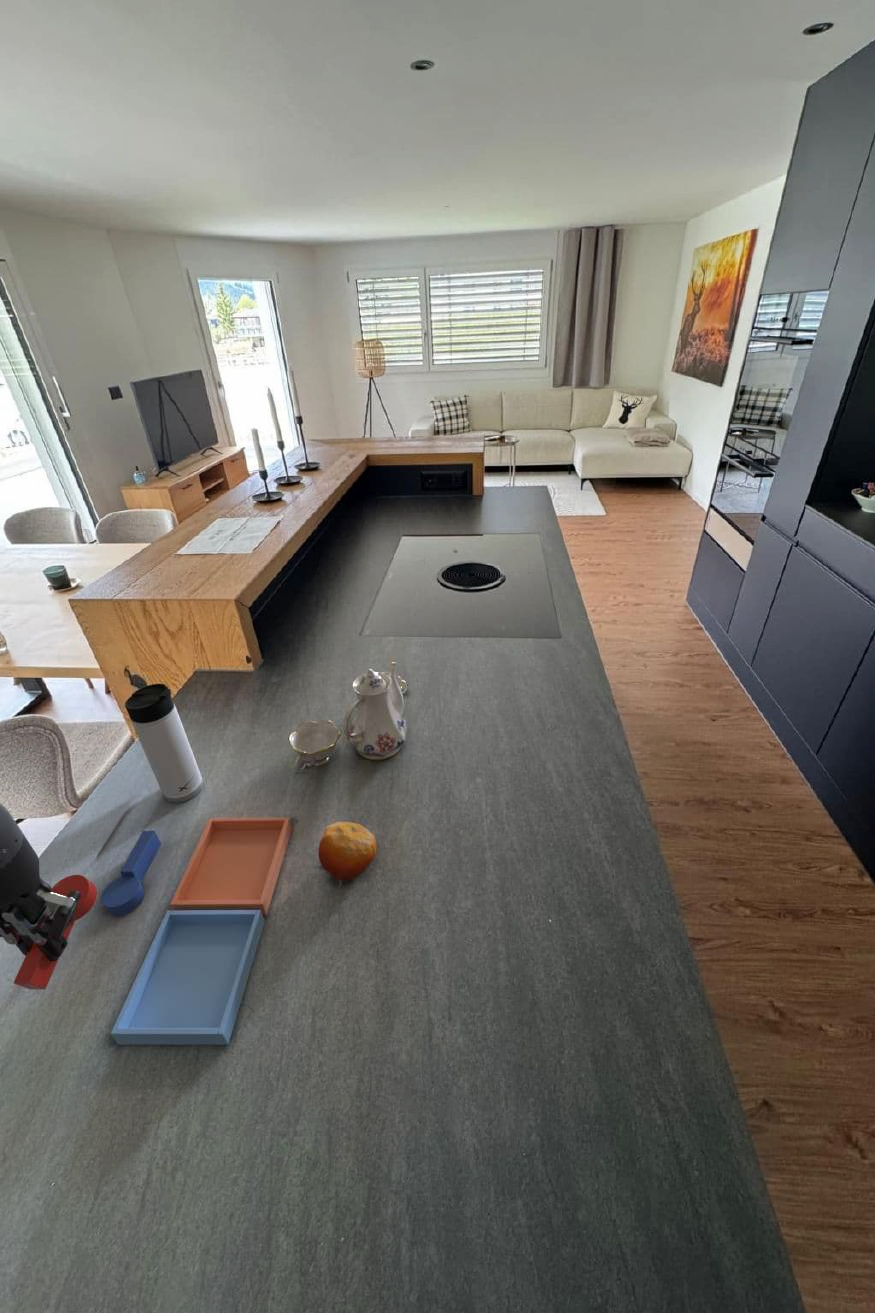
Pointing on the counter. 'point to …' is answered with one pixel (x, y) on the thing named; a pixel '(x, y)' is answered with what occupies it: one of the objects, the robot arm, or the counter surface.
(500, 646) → the counter surface
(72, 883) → the red spoon
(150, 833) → the blue spoon
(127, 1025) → the blue tray
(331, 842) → the fruit
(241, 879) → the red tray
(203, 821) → the counter surface
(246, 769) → the counter surface
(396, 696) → the chinaware
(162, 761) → the travel mug
